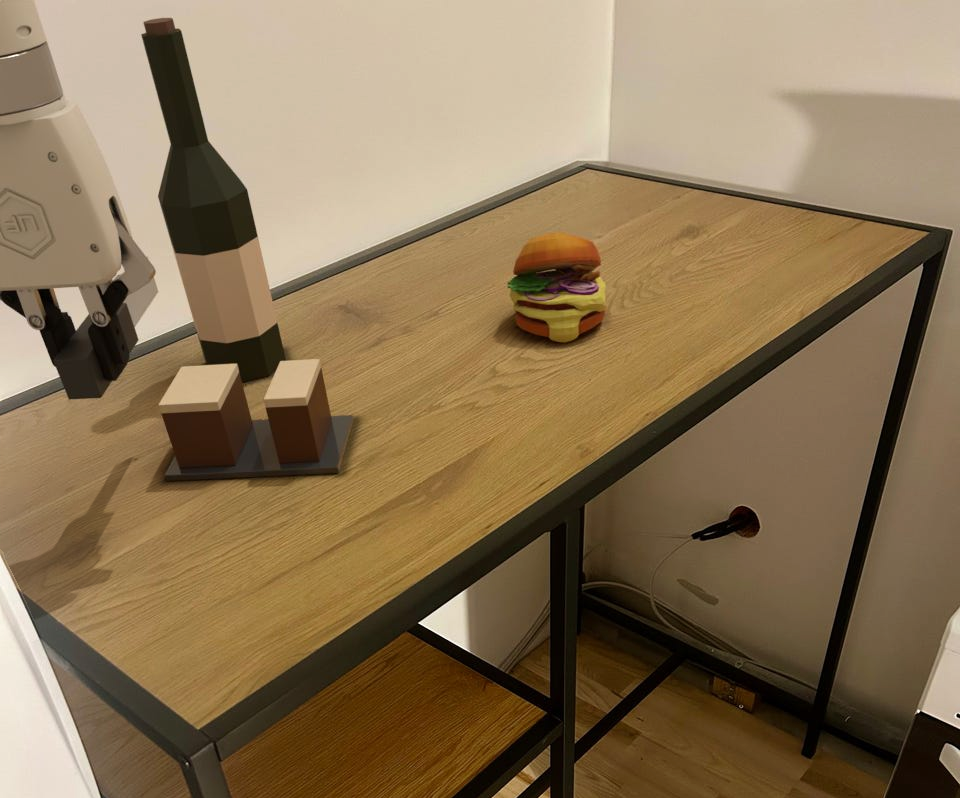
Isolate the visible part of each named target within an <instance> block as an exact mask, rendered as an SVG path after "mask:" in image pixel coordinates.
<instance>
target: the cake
mask: <svg viewBox="0 0 960 798" xmlns="http://www.w3.org/2000/svg"><path fill="white" fill-rule="evenodd" d="M245 392H246V391H245V389H244V385H243V382H242V381H241V377H240V373H239V369H238V365H237V364H220V365H206V364H205V365H203V364H202V365H188V366H187V365H186V366H184V365H183V366H180V368H179V370H178V372H177V374H175V376H174V379H173V380H172V382H171V383H170V384H169V386H168V388H167V390H166V391H165V393H164V395H163V396H162V398H161V400H160V401H159V403H158V405H157V406H158V409H159V411H160V414H161V418H162V420H163V424H164V426H165V430H166V432H167V435H168V439H169V442H170V445H171V448H172V450H173V453H174V457H176V460H177V463H178V466H179V468H191V467H212V466H233V465H236V463H237V461H238V458H239V456H240V454H241V451H242V449H243V447H244V445H245V442H246V440H247V438H248V436H249V433H250V431H251V429H252V426H253V423H252V420H253V419H252V415H251V412H250V408H249V404H248V400H247V396H246V393H245Z"/></svg>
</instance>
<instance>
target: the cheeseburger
mask: <svg viewBox="0 0 960 798" xmlns="http://www.w3.org/2000/svg"><path fill="white" fill-rule="evenodd" d="M598 250H599V249H598V248H597V246H596V245H595V243H594V241H592V240H589V239H586V238H584V237H579V236H576V235H573V234H570V233H569V234H568V233H565V232H551V233H546V234H542V235H537V236H534V237H531V238H530V239H529V240H528V241H527V242H526V243H525V244H524V246H522V249H521V250H520V252H519V254H518V256H517V257H516V259H515V262H514V266H513V270H512V273H513V275H514V277H512V278H511V279H510V280H509V281H507V283H506V284H507V289H510V290H509V298H510V299H511V301H512V303H513V304H512V307H513V311H514V319H515V322H516V326H517V327H519V328H520V329H521V330H523V331H526V332H529V333H531V334H533V335H536V336H540V337H545V338H548V339H549V340H551V341H552V342H556V343H563V344H564V343H569V342H572V341H573V340H576V339H577V338H578V336H579V335H581V334H583V333H585V332H587V331H589V330H591V329H593V328H594V327H596V326H597V325H598V324H600V323H601V322H603V321H604V318H605V314H606V313H605V312H606V305H607V303H606V302H607V301H606V297H607V295H606V289H607V285H606V283H605V282H604V280H603V278H602V276H601V272H600V270H596V269H597V268H598V267H600V266H601V265H602V260H601V257H600V254H599V253H600V252H599V251H598ZM595 270H596V271H595Z"/></svg>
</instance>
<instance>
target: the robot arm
mask: <svg viewBox="0 0 960 798" xmlns="http://www.w3.org/2000/svg"><path fill="white" fill-rule="evenodd" d="M56 68H57V67H56V66H55V62H54V59H53V55H52V53H51V50H50V47H49V43H48V41H47V37H46V34H45V30H44V27H43V24H42V21H41V18H40V15H39V12H38V8H37V5H36V2H35V0H0V302H2V303H3V304H4V305H6V306H7V307H8V308H10V309H12V310H13V311H15V312H16V313H17V314H19V315H20V316H22V317H23V318H25V320H26V322H27V324H28V325H29V327H30V328H32V329H33V330H35V331H39V334H40V336H41V338H42V341H43V343H44V346H45V348H46V351H47V354H48V357H49V359H50V362H51V364H52V366H53V367H55V368H56V366H55V364H54V361H53V360H54V359H55V358H56V356H57V355H58V354H59V352H60V351H61V350H62V349H63V347H64V346H65V345H66V343H67V342H68V341H69V339H70V338H71V337H72V336H73V334H74V333H75V332H76V330H77V329H76V327H75V324H74V322H73V319H72V316H71V315H69V313H68V311H62V310H61V308H60V304H59V301H58V298H57V295H56V292H55V289H64V288H65V289H66V288H78V290H79V292H80V295H81V297H82V300H83V303H84V306H85V308H86V310H87V312H88V313H87V314H89V315H90V319H91V321H92V325H91V326H90V327H89V328H88V335H89V337H90V340H91V343H92V346H93V348H94V349H95V352H96V355H97V357H98V360H99V363H100V366H101V369H102V372H103V374H104V377H105V379H107V381H112V382H116V381H117V380H118V378H119V377H120V376H121V374H122V373H123V372H124V370H125V368H126V367H127V366H128V364H129V361H130V354H129V349H128V346H127V343H126V340H125V337H124V334H123V331H122V328H121V325H120V322H119V319H118V316H117V312H118V310H119V309H120V307H121V305H122V304H123V302H124V301H125V299H126V297H127V296H128V295H130V294H131V293H134V292H135V291H137V290H138V289H140V288H142V287H143V286H145V285H146V284H148V283H149V282H150V281H151V280H152V278H153V277H154V278H155V276H156V273H157V271H156V268H155V266H154V264H152V262H151V261H150V260H149V257H148V256H147V257H148V258H147V257H146V254H145V253H144V252H143V250H142V249H141V248H140V247H139V246H138V244H137V243H136V241H135V240H134V239H133V235H132V231H131V227H130V224H129V220H128V217H127V214H126V211H125V209H124V206H123V204H122V203H123V202H122V200H121V197H120V194H119V192H118V190H117V187H116V184H115V182H114V179H113V176H112V173H111V172H110V170H109V167H108V164H107V162H106V160H105V157H104V155H103V153H102V151H101V149H100V147H99V144H98V142H97V140H96V137H95V135H94V133H93V131H92V129H91V127H90V126H89V124H88V122H87V120H86V118H85V117H84V114H83V112H82V111H81V108H80V107H79V105H78V103H77V102H76V101H75V100H67V99H66V97H65V93H64V91H63V87H62V83H61V81H60V78H59V75H58V71H57V69H56ZM121 267H122V268H123V270H124V272H122V273H121V274H118V272H119V271H120V270H121Z"/></svg>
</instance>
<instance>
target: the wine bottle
mask: <svg viewBox="0 0 960 798" xmlns="http://www.w3.org/2000/svg"><path fill="white" fill-rule="evenodd" d="M142 23H143V27H144V30H145V32H144V33H141V39H142V43H143V46H144V51H145V54H146V58H147V61H148V65H149V69H150V73H151V76H152V80H153V84H154V88H155V91H156V94H157V99H158V102H159V107H160V110H161V113H162V118H163V121H164V125H165V128H166V133H167V137H168V140H169V143H170V146H169V150H168V153H167V158H166V162H165V166H164V170H163V173H162V178H161V182H160V186H159V190H158V194H157V199H158V202H159V204H160V206H159V207H160V209H161V213H162V216H163V220H164V223H165V226H166V229H167V234H168V237H169V241H170V244H171V247H172V250H173V255H174V256H175V261H176V264H177V268H178V272H179V276H180V278H181V282H182V286H183V289H184V293H185V296H186V300H187V303H188V306H189V310H190V313H191V317H192V320H193V325H194V327H195V328H194V329H195V331H196V335H197V337H198V341H199V344H200V348H201V351H202V356H203V359H204V363H205V365H220V364H237V365H238V369H239V373H240V377H241V381H242V383H244V382H245V383H246V382H249V381H253V380H257V379H262V378H266V377H270V376H271V375H272V374H273V373H275V372H276V370H277V367H278V365H279V363H280V361H287V358H286V355H285V350H284V345H283V341H282V337H281V331H280V328H279V323H278V319H277V314H276V311H275V306H274V301H273V298H272V297H273V296H272V293H271V289H270V284H269V280H268V279H269V278H268V275H267V271H266V266H265V262H264V258H263V254H262V249H261V244H260V240H259V236H258V231H257V227H256V222H255V217H254V213H253V209H252V205H251V200H250V196H249V191H248V188H247V187H246V186H245V184H244V183H243V181H242V180H241V178H239V176H238V175H237V174H236V172H235V171H234V170H233V169H232V168H231V166H230V165H229V164H228V163H227V161H225V159H224V158H223V157H222V156H221V154H220V153H219V152H218V150H217V149H216V148H215V146H213V144H212V143H211V142H210V141H209V139H208V133H207V130H206V126H205V122H204V118H203V114H202V110H201V106H200V101H199V97H198V93H197V90H196V85H195V81H194V77H193V73H192V69H191V64H190V61H189V57H188V53H187V52H188V51H187V49H186V44H185V40H184V36H183V31H182V29H180V28H176V26H175V21H174V19H173V18H172V17H160V18H159V17H158V18H152V19H148V20H144V21H142Z"/></svg>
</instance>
